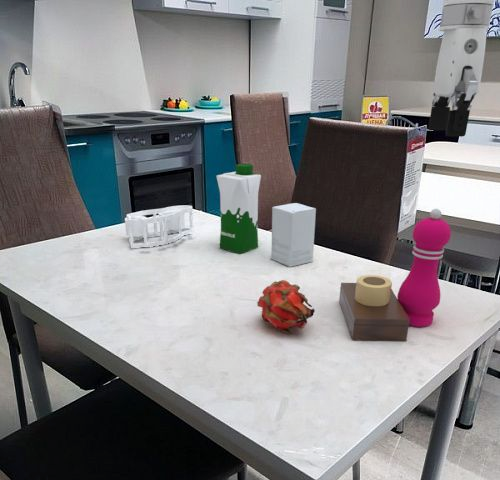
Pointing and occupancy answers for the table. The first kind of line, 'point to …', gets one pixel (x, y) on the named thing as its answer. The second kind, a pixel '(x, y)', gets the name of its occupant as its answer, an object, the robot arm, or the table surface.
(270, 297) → the dragon fruit
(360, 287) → the tape
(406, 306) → the pepper mill
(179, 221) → the clear plastic caddy
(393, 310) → the case
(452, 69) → the robot arm
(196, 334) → the table surface
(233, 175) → the milk carton
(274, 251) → the white packaging box
